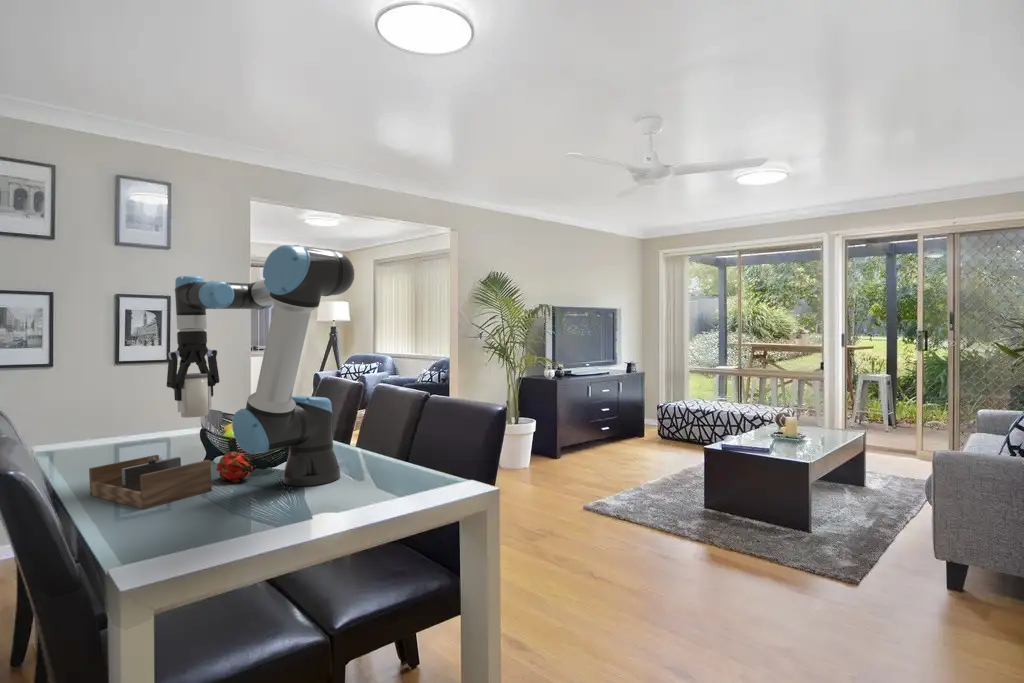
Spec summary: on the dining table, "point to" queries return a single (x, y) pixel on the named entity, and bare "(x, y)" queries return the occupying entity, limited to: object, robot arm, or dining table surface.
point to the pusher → (146, 471)
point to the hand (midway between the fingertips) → (194, 410)
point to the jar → (196, 395)
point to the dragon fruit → (234, 466)
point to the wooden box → (150, 483)
